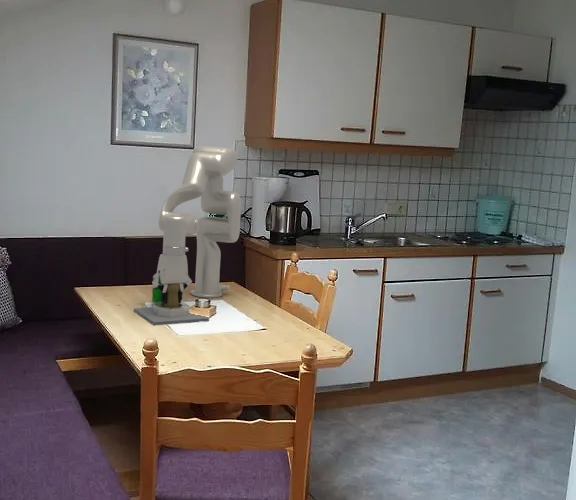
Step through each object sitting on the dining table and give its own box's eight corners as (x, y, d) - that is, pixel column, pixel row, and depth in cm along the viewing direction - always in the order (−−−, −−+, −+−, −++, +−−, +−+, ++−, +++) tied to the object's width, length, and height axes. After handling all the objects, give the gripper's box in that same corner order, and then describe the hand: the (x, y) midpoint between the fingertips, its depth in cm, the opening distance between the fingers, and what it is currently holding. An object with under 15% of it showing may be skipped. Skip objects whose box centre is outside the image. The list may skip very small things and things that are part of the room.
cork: (182, 314, 248) (184, 283, 246) (167, 316, 244) (169, 284, 242) (174, 310, 252) (175, 280, 251) (159, 312, 249) (160, 281, 247)
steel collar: (179, 308, 256) (180, 300, 256) (192, 316, 246) (193, 307, 246) (149, 310, 250) (149, 302, 250) (161, 318, 240) (161, 309, 240)
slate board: (186, 307, 262) (186, 305, 262) (208, 321, 245) (209, 318, 245) (133, 311, 252) (133, 308, 251) (153, 325, 235) (153, 322, 235)
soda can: (174, 304, 267) (176, 272, 265) (169, 308, 259) (170, 276, 258) (155, 302, 267) (156, 271, 266) (149, 306, 260) (150, 274, 258)
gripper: (192, 249, 253) (189, 299, 255) (146, 249, 244) (144, 301, 246) (200, 252, 246) (198, 303, 249) (154, 253, 238) (152, 306, 240)
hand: (171, 302), depth 248 cm, fingers closed on cork, 4 cm apart
